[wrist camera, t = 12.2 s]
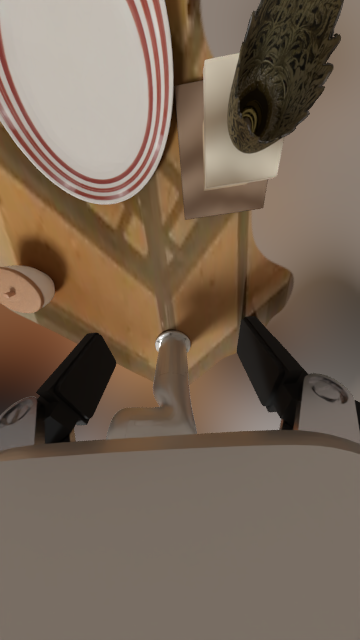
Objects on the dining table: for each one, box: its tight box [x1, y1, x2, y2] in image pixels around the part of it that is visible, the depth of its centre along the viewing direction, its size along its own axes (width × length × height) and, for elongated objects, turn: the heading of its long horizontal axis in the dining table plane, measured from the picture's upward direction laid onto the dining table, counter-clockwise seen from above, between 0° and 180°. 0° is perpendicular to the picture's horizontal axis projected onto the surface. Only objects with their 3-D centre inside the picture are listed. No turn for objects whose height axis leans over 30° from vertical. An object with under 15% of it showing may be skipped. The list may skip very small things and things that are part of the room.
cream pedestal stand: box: [175, 53, 284, 220], centre depth 21 cm, size 16×16×10 cm
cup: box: [227, 0, 344, 154], centre depth 14 cm, size 8×7×8 cm
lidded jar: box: [0, 265, 55, 313], centre depth 33 cm, size 11×11×9 cm
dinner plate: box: [0, 0, 174, 204], centre depth 20 cm, size 27×27×3 cm
